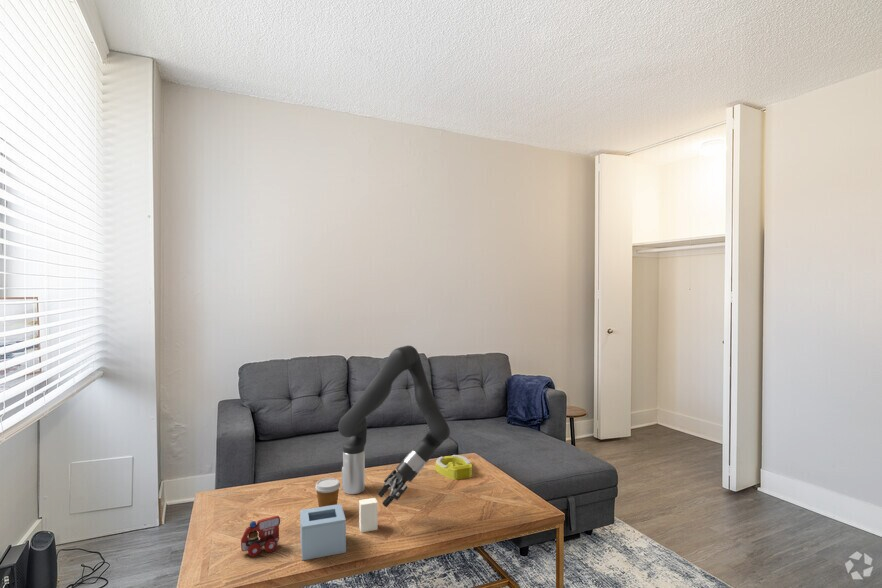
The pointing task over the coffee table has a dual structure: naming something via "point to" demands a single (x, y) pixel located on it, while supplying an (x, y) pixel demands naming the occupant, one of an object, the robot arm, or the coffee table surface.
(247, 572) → the coffee table surface
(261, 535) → the toy fire truck
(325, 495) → the disposable coffee cup
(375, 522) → the block
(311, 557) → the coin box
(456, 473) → the yellow low hollow piece
